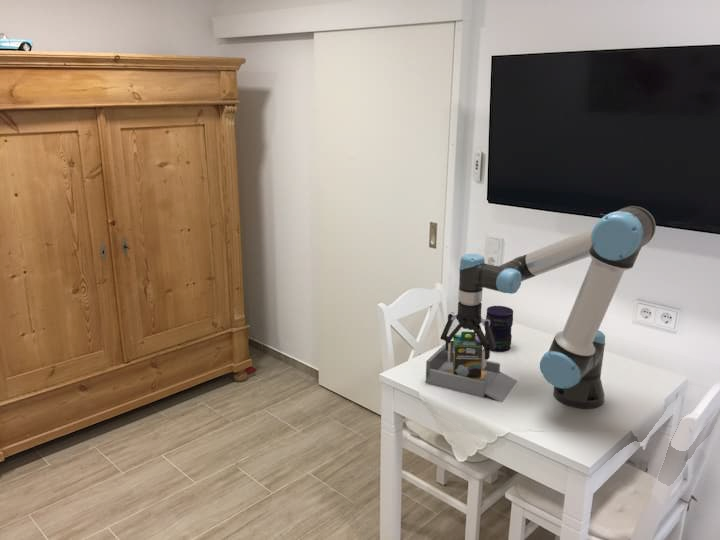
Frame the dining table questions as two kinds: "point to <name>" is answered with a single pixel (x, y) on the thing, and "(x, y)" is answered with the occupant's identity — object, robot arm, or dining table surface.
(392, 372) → the dining table surface
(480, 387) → the dock bay
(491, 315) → the storage jar
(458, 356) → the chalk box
